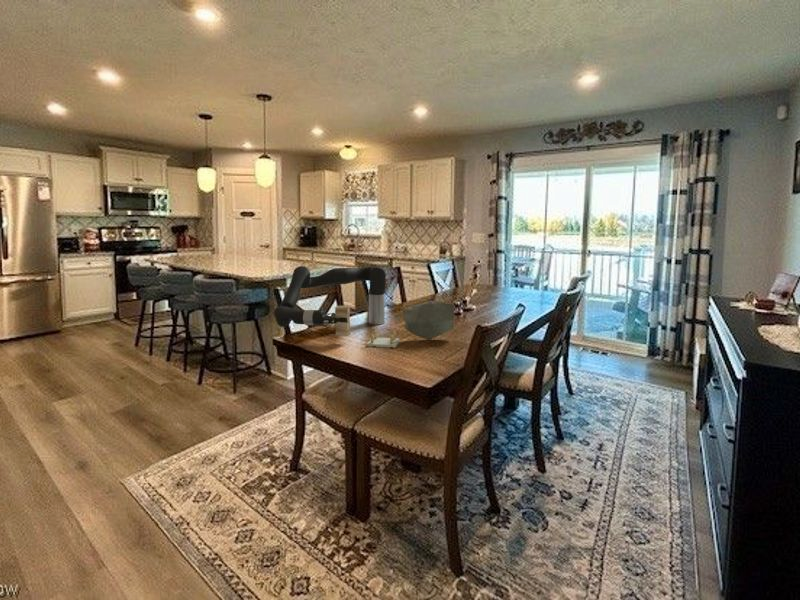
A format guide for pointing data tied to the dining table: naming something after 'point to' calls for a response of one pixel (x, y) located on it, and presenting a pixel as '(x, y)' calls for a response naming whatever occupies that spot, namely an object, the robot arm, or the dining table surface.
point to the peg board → (383, 340)
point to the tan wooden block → (342, 327)
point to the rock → (429, 319)
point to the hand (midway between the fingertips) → (348, 318)
